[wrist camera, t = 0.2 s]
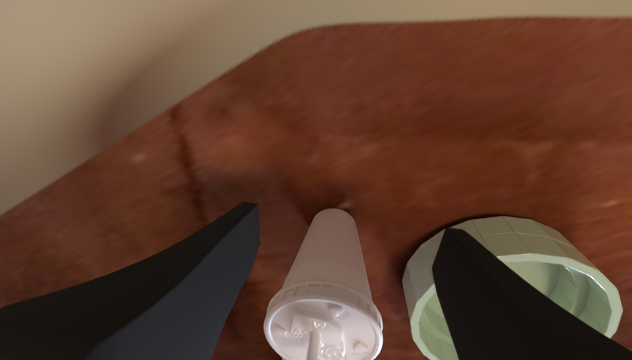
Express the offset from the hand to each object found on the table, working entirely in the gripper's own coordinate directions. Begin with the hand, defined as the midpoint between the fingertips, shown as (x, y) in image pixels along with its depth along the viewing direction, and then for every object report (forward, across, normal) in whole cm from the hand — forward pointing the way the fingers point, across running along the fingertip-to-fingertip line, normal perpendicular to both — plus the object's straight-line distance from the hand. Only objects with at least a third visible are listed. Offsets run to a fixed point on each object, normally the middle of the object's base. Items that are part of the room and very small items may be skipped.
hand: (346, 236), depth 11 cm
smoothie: (+10, 0, +7) cm, 13 cm away
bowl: (+10, -12, +10) cm, 19 cm away
